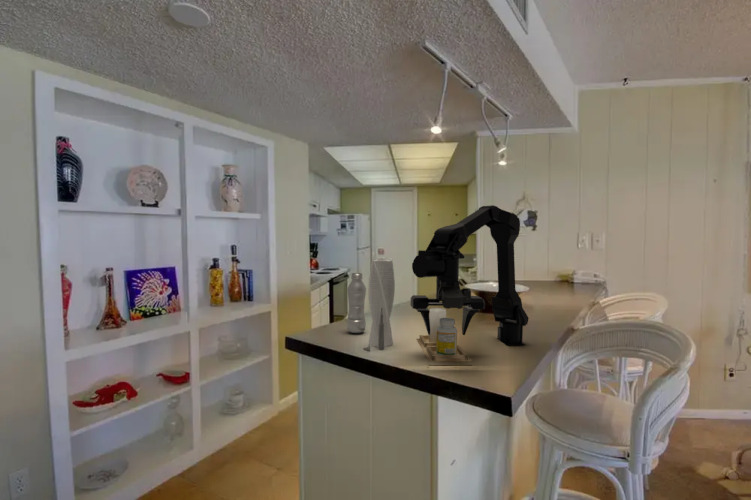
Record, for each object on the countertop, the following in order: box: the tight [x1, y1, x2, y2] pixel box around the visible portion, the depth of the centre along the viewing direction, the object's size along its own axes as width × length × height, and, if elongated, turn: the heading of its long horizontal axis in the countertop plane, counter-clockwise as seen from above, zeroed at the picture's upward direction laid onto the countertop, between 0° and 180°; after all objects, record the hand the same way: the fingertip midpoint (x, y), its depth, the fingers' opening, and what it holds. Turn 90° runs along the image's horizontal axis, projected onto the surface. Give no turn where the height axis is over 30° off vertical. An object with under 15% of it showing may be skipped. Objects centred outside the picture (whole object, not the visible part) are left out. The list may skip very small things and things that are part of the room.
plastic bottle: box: [346, 272, 367, 334], centre depth 133 cm, size 6×7×20 cm
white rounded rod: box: [429, 307, 447, 342], centre depth 117 cm, size 5×5×10 cm
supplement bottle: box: [436, 317, 458, 355], centre depth 105 cm, size 5×5×10 cm
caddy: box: [416, 334, 473, 367], centre depth 111 cm, size 11×22×2 cm, turn 3°
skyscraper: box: [362, 251, 396, 352], centre depth 114 cm, size 8×8×28 cm
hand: (446, 334), depth 105 cm, fingers open, 9 cm apart
